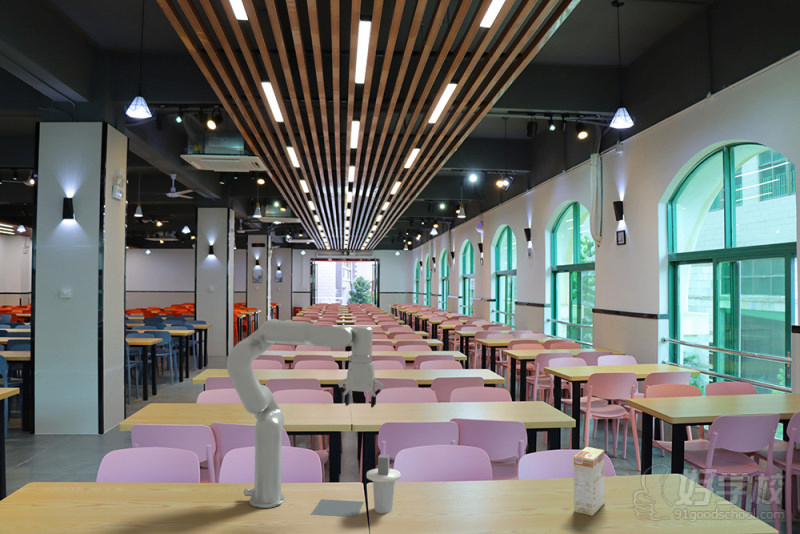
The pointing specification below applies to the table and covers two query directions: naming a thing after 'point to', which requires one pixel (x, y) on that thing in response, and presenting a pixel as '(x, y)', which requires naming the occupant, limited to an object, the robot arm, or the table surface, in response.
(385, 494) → the cup
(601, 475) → the coffeecake box
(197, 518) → the table surface
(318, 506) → the mat
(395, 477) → the lid
